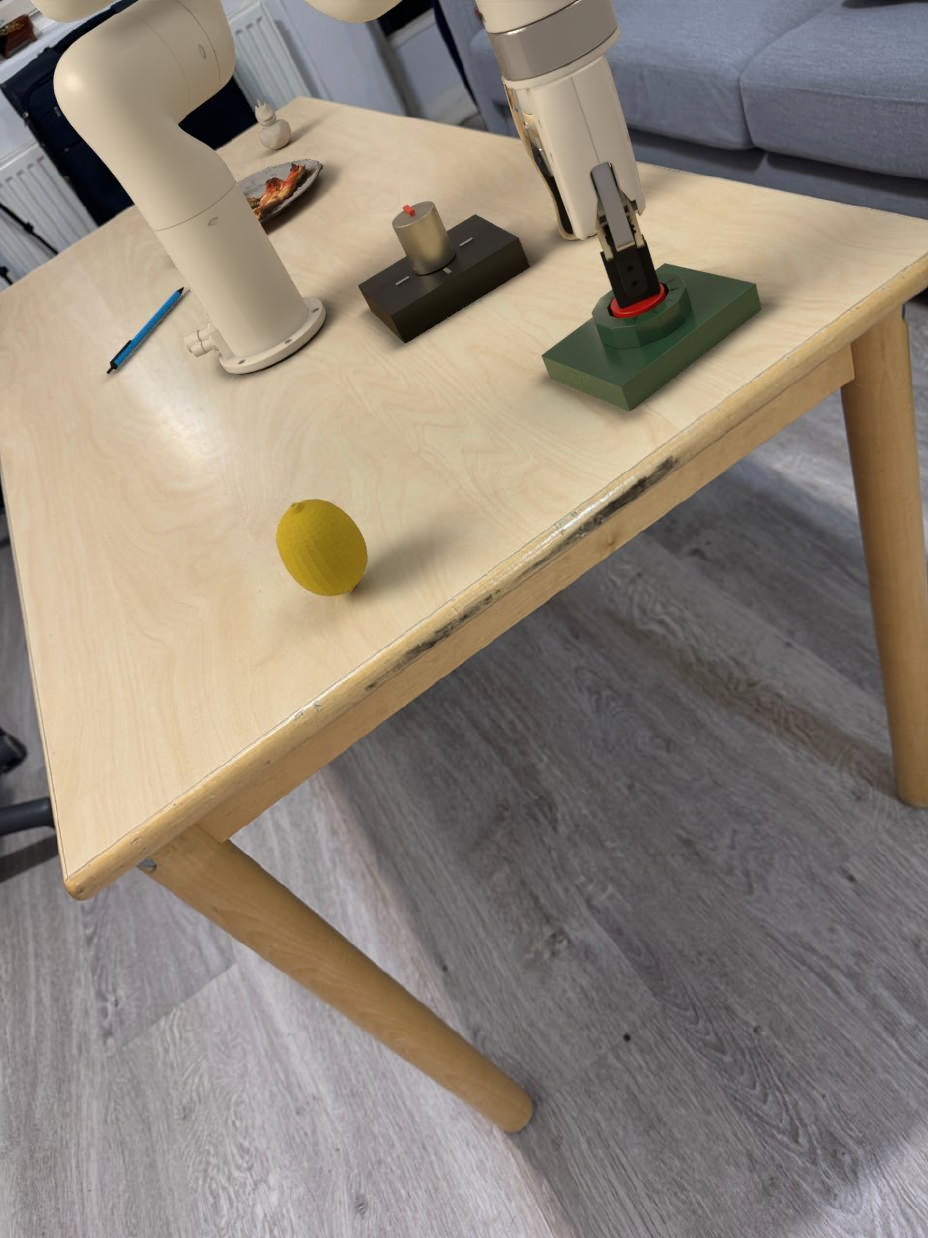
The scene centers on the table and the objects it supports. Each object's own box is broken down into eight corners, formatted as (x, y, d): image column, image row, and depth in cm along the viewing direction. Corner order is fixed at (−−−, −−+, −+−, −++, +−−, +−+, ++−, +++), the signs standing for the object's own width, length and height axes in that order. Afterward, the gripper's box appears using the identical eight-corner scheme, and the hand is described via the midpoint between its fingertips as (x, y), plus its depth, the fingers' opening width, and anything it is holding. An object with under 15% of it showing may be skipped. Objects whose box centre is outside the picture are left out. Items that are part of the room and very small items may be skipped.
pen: (107, 376, 119) (101, 368, 118) (183, 290, 130) (178, 283, 129) (112, 375, 118) (106, 367, 118) (188, 289, 130) (183, 281, 129)
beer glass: (622, 228, 90) (570, 60, 81) (551, 251, 93) (492, 91, 83) (628, 195, 95) (579, 32, 85) (560, 217, 98) (505, 62, 88)
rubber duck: (271, 156, 161) (245, 108, 156) (263, 151, 166) (237, 103, 161) (299, 139, 161) (274, 90, 156) (290, 134, 166) (265, 86, 161)
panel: (404, 343, 92) (389, 314, 90) (371, 310, 101) (356, 283, 99) (530, 266, 93) (518, 235, 91) (486, 240, 101) (474, 211, 99)
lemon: (316, 579, 71) (258, 496, 66) (385, 551, 70) (332, 465, 65) (314, 630, 67) (252, 546, 62) (387, 601, 66) (330, 514, 61)
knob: (461, 255, 93) (439, 203, 90) (422, 279, 93) (397, 228, 90) (447, 244, 96) (424, 193, 93) (408, 267, 96) (384, 217, 93)
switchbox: (630, 412, 70) (613, 365, 67) (550, 378, 77) (532, 335, 75) (762, 309, 72) (750, 260, 69) (671, 286, 79) (658, 241, 77)
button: (640, 338, 71) (633, 317, 70) (607, 327, 74) (599, 307, 73) (681, 307, 72) (675, 286, 71) (646, 297, 75) (639, 277, 74)
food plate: (355, 161, 139) (344, 137, 137) (259, 253, 128) (245, 228, 126) (243, 187, 155) (231, 165, 153) (148, 270, 144) (134, 248, 142)
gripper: (489, 35, 66) (576, 275, 78) (507, 95, 55) (605, 365, 67) (594, -18, 65) (667, 236, 76) (634, 34, 54) (713, 322, 65)
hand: (638, 296), depth 72 cm, fingers closed
